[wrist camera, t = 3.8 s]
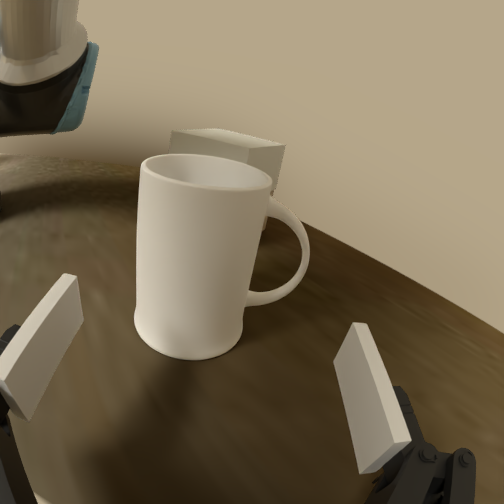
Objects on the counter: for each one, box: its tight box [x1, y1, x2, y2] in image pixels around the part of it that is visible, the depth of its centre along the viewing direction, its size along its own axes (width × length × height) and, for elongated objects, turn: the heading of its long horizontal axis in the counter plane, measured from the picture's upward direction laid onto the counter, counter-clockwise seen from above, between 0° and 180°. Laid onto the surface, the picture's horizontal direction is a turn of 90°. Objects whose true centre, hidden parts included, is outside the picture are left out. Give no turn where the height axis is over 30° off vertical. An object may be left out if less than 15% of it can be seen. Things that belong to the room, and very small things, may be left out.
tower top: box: [168, 129, 286, 191], centre depth 36 cm, size 10×10×6 cm
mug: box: [134, 154, 310, 360], centre depth 21 cm, size 12×8×12 cm
